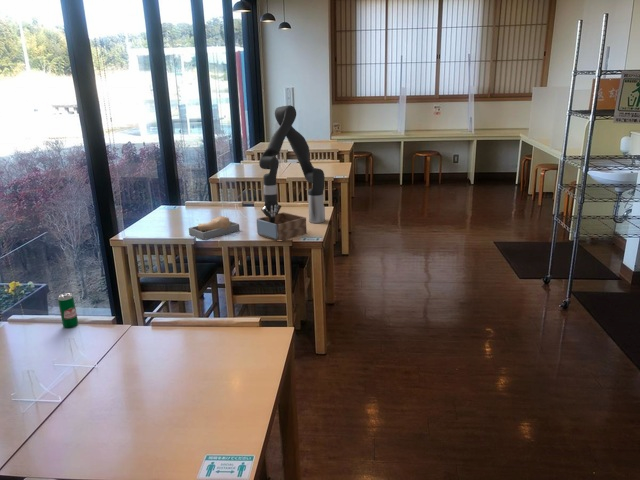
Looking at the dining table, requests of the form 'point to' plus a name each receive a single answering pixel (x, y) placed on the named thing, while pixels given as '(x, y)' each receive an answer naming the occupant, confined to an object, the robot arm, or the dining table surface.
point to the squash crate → (213, 231)
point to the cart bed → (288, 225)
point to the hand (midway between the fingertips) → (272, 223)
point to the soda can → (67, 310)
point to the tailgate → (267, 229)
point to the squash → (215, 224)
